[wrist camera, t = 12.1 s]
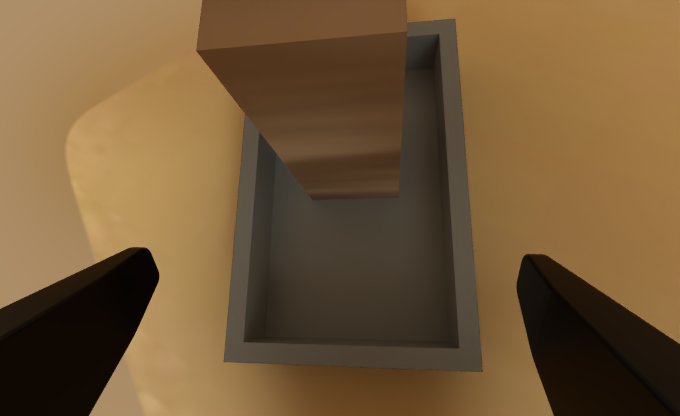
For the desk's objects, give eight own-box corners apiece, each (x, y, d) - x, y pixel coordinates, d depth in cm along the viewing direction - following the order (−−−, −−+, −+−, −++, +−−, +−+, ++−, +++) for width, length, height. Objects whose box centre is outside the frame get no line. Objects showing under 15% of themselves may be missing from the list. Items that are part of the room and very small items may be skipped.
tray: (465, 358, 17) (482, 372, 14) (254, 351, 19) (223, 362, 15) (445, 63, 21) (455, 18, 18) (272, 76, 23) (251, 36, 19)
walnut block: (398, 197, 19) (407, 31, 7) (312, 200, 19) (196, 50, 8) (395, 118, 20) (399, -135, 8) (314, 123, 21) (215, -106, 9)
